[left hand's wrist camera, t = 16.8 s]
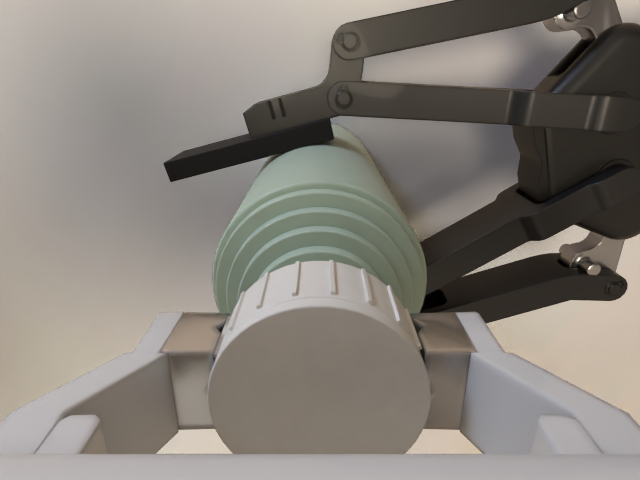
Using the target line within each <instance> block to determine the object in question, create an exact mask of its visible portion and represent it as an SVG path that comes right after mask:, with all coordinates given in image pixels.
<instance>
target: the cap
mask: <svg viewBox="0 0 640 480" xmlns="http://www.w3.org/2000/svg"><path fill="white" fill-rule="evenodd" d="M421 349H422V346H421V344H420V341H419V338H418V336H417V333H416V330H415V327H414V325H413V322H412V319H411V316H410V314H409V311H408V309H407V308H406V309H404V307H403V306H402V304H401V302H400V300H399V299H398V298H397V296H396V295H395V294H394V293H393V290H392V287H391V286H390V285H388V286H386V285H385V284H384V283H383V282H382V281H380V280H379V279H377V278H376V277H375V276H373V275H371V274H369V273H367V272H366V269H364V268H362V269H359V268H356V267H354V266H351V265H347V264H343V263H339V262H334V261H333V260H329V261H308V262H300V261H297V262H295V264H292V265H288V266H285V267H282V268H280V269H277V270H275V271H273V272H271V273H269V272H267V273H265V275H264V277H262V278H261V279H260V280H258V281H257V282H256V283H254V284H253V285H252V286H251V287H250V288H249V289H248V290H247V291H246V292H244V291H243V292H242V293H241V295H240V298H239V301H238V303H237V305H236V306H235V308H234V310H233V313H232V315H231V316H228V318H227V320H226V323H225V325H224V328H223V330H222V333H221V337H220V339H219V342H218V344H217V347H216V350H215V352H214V358H216V359H215V362H214V365H213V368H212V370H211V373H210V378H209V382H208V392H207V400H208V408H209V412H210V416H211V420H212V422H213V425H214V427H215V429H216V431H217V433H218V435H219V436H220V438H221V439H222V441H223V442H224V444H225V445H226V446H227V447H228V448H229V450H230V451H231V452H232V453H233V454H405V453H406V452H407V451H408V450H409V449H410V448H411V446H412V445H413V444H414V443H415V442H416V440H417V438H418V437H419V435H420V434H421V432H422V430H423V428H424V425H425V423H426V421H427V417H428V413H429V410H430V402H431V386H430V381H429V376H428V372H427V369H426V367H425V364H424V361H423V358H422V355H421V353H420V350H421Z"/></svg>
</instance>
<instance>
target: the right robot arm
mask: <svg viewBox="0 0 640 480" xmlns="http://www.w3.org/2000/svg"><path fill="white" fill-rule="evenodd" d="M540 21H543V23H544V25H545V27H546V28H547V29H548V30H549V31H552V32H563V31H569V30H574V31H577V32H578V33H579V34H580V36H581V38H582V39H581V40H580V41H579V42H578V43H577V44H576V45H575V47H574V48H573V49H572V50H571V51H570V52H569V53H568V54H567V55H566V56H565V57H564V58H563V59H562V60H561V61H560V62H559V64H558V65H557V66H556V67H555V68H554V69H553V70H552V71H551V72H550V73H549V74H548V75H547V76H546V77H545V78H544V79H543V81H542V82H541V83H540V84H539V85H538V86H537V87H536V88H535V89H534V90H523V89H504V88H482V87H464V86H446V85H428V84H410V83H391V82H373V81H361V79H362V71H363V63H364V58H366V57H371V56H376V55H381V54H386V53H390V52H395V51H400V50H405V49H410V48H415V47H420V46H425V45H430V44H435V43H440V42H445V41H449V40H454V39H459V38H464V37H469V36H474V35H479V34H484V33H489V32H494V31H499V30H503V29H508V28H513V27H518V26H522V25H527V24H531V23H536V22H540ZM243 115H244V118H245V121H246V125H247V128H248V131H249V134H246V135H242V136H238V137H235V138H231V139H227V140H223V141H220V142H216V143H212V144H208V145H205V146H201V147H197V148H194V149H190V150H186V151H183V152H181V153H180V154H178V155H176V156H175V157H173V158H171V159H170V160H168V161H166V162H165V163H164V166H165V169H166V171H167V174H168V176H169V179H170V182H173V181H177V180H180V179H184V178H188V177H192V176H196V175H199V174H203V173H207V172H211V171H215V170H219V169H222V168H226V167H230V166H234V165H238V164H241V163H245V162H249V161H253V160H257V159H260V158H264V157H268V156H272V155H276V154H280V153H283V152H287V151H291V150H294V149H298V148H302V147H306V146H310V145H314V144H318V143H322V142H325V141H329V140H333V139H334V134H333V130H332V125H331V121H330V118H333V117H337V116H340V115H342V116H358V117H376V118H395V119H414V120H432V121H451V122H470V123H488V124H506V125H513V135H514V139H515V142H516V144H517V147H518V149H519V152H520V161H519V167H518V183H517V184H515V185H513V186H511V187H509V188H508V189H506V190H504V191H503V192H501V193H500V194H499V195H498V196H497V198H496V200H495V201H493V202H492V203H490V204H488V205H487V206H485V207H483V208H481V209H479V210H478V211H476V212H474V213H472V214H470V215H469V216H467V217H465V218H463V219H461V220H460V221H458V222H456V223H454V224H452V225H451V226H449V227H447V228H445V229H443V230H442V231H440V232H438V233H436V234H435V235H433V236H431V237H429V238H427V239H426V240H424V241H422V242H420V245H421V247H422V250H423V253H424V257H425V263H426V270H427V284H426V293H425V297H424V301H423V305H422V307H421V310H420V312H419V313H447V312H455V313H456V312H477V313H479V314H480V316H481V317H482V319H483V320H484V322H485V323H489V322H493V321H496V320H500V319H503V318H507V317H511V316H514V315H518V314H522V313H525V312H529V311H532V310H536V309H540V308H543V307H547V306H551V305H554V304H558V303H561V302H565V301H569V300H595V301H612V300H616V299H618V298H620V297H621V296H622V295H623V294H625V292H626V290H627V282H626V280H625V279H624V278H623V277H622V276H620V275H619V274H617V273H616V268H617V265H618V261H619V258H620V254H621V251H622V247H623V244H624V241H625V239H628V238H632V237H634V236H636V235H638V234H640V25H638V24H635V23H622V20H621V17H620V14H619V11H618V8H617V4H616V1H615V0H454V1H449V2H444V3H440V4H435V5H430V6H425V7H420V8H416V9H411V10H406V11H401V12H397V13H392V14H387V15H382V16H377V17H373V18H368V19H363V20H358V21H354V22H349V23H346V24H343V25H341V26H340V27H339V28H338V29H337V30H336V32H335V34H334V36H333V39H332V44H331V54H330V64H329V71H328V75H327V77H326V78H325V80H324V81H323V82H322V83H321V84H319V85H318V86H315V87H312V88H308V89H305V90H301V91H297V92H294V93H290V94H286V95H283V96H279V97H275V98H272V99H268V100H265V101H261V102H258V103H256V104H254V105H253V106H252V107H250V108H249V109H248V110H247V111H245V112H244V113H243ZM572 225H577V226H579V227H582V228H584V229H587V230H589V231H590V233H589V235H588V236H587V237H586V238H585V239H584V240H583V241H580V242H578V243H573V244H564V245H562V246H561V247H560V249H559V253H549V254H541V255H537V256H533V257H529V258H525V259H522V260H518V261H515V262H512V263H508V264H505V265H501V266H498V267H494V268H491V269H487V270H484V271H480V272H477V273H474V274H470V275H467V276H464V275H465V274H467V273H469V272H471V271H473V270H475V269H477V268H479V267H480V266H482V265H484V264H486V263H488V262H490V261H492V260H494V259H496V258H497V257H499V256H501V255H503V254H505V253H507V252H509V251H511V250H513V249H514V248H516V247H518V246H520V245H522V244H524V243H526V242H528V241H540V240H544V239H547V238H549V237H551V236H553V235H555V234H557V233H559V232H561V231H562V230H564V229H566V228H568V227H570V226H572ZM462 276H463V277H462Z"/></svg>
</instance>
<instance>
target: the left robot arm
mask: <svg viewBox="0 0 640 480" xmlns="http://www.w3.org/2000/svg"><path fill="white" fill-rule="evenodd" d="M228 316H231V315H230V313H198V312H186V313H184V312H163V313H160V314H159V315H158V316H157V318H156V319H155V321H154V322H153V324H152V325H151V327H150V328H149V330H148V331H147V333H146V334H145V336H144V337H143V339H142V340H141V342H140V343H139V345H138V346H137V348H136V349H135V350H134V352H133V353H125V354H123V355H121V356H119V357H117V358H115V359H113V360H111V361H109V362H107V363H105V364H104V365H102V366H100V367H98V368H96V369H94V370H92V371H90V372H88V373H86V374H84V375H82V376H80V377H78V378H77V379H75V380H73V381H71V382H69V383H67V384H65V385H63V386H61V387H59V388H57V389H55V390H53V391H51V392H50V393H48V394H46V395H44V396H42V397H40V398H38V399H36V400H34V401H32V402H30V403H28V404H26V405H25V406H23V407H21V408H19V409H17V410H15V411H13V412H11V413H10V414H9V415H8V416H7V417H6V418H5V419H4V420H3V421H2V422H1V424H0V480H640V426H639V425H638V424H637V422H636V421H635V420H634V419H633V418H632V417H631V416H630V415H629V414H628V413H626V412H625V411H623V410H621V409H619V408H617V407H615V406H613V405H611V404H609V403H607V402H605V401H603V400H602V399H600V398H598V397H596V396H594V395H592V394H590V393H588V392H586V391H584V390H582V389H581V388H579V387H577V386H575V385H573V384H571V383H569V382H567V381H565V380H563V379H561V378H559V377H558V376H556V375H554V374H552V373H550V372H548V371H546V370H544V369H542V368H540V367H538V366H537V365H535V364H533V363H531V362H529V361H527V360H525V359H523V358H521V357H519V356H517V355H515V354H514V353H505V352H504V350H503V349H502V347H501V346H500V344H499V343H498V341H497V340H496V338H495V337H494V335H493V334H492V332H491V331H490V329H489V328H488V326H487V325H486V323H485V322H484V320H483V319H482V317H481V316H480V314H479V313H477V312H456V313H455V312H447V313H410V316H411V319H412V322H413V325H414V327H415V330H416V333H417V336H418V338H419V341H420V344H421V346H422V349H421V350H420V353H421V355H422V358H423V361H424V364H425V367H426V369H427V372H428V376H429V381H430V386H431V402H430V410H429V413H428V417H427V421H426V423H425V425H424V428H423V429H453V430H460V432H461V433H462V434H463V435H464V436H465V437H466V438H467V439H468V440H469V441H470V442H471V443H472V444H473V445H475V446H476V447H477V448H478V449H479V450H480V451H481V452H482V453H483V454H156V453H157V452H158V451H159V450H160V449H161V448H162V447H163V446H164V445H165V444H166V443H167V442H168V441H169V440H170V439H171V438H172V437H174V436H175V435H176V434H177V433H178V430H185V429H215V427H214V425H213V422H212V420H211V416H210V412H209V408H208V400H207V392H208V382H209V378H210V373H211V370H212V368H213V365H214V362H215V359H216V358H214V352H215V350H216V347H217V344H218V342H219V339H220V337H221V333H222V330H223V328H224V325H225V323H226V320H227V318H228Z"/></svg>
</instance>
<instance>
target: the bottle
mask: <svg viewBox="0 0 640 480" xmlns="http://www.w3.org/2000/svg"><path fill="white" fill-rule="evenodd" d="M331 125H332V130H333V134H334V139H333V140H329V141H325V142H322V143H318V144H314V145H310V146H306V147H302V148H298V149H294V150H291V151H287V152H283V153H280V154H276V155H272V156H269V158H268V159H267V161H266V163H265V164H264V166H263V168H262V169H261V171H260V173H259V174H258V176H257V178H256V180H255V181H254V183H253V185H252V186H251V188H250V190H249V191H248V193H247V195H246V197H245V198H244V200H243V202H242V203H241V205H240V207H239V208H238V210H237V212H236V214H235V215H234V217H233V219H232V220H231V222H230V224H229V225H228V227H227V229H226V231H225V233H224V234H223V236H222V238H221V240H220V242H219V245H218V248H217V250H216V253H215V258H214V263H213V272H212V283H213V292H214V296H215V301H216V304H217V307H218V310H219V312H220V313H230V315H232V313H233V310H234V308H235V306H236V305H237V303H238V301H239V298H240V295H241V293H242V292H243V291H244V292H246V291H247V290H248V289H249V288H250V287H251V286H252V285H253V284H254V283H256V282H257V281H258V280H260V279H261V278H262V277H264V275H265V273H267V272H269V273H271V272H273V271H275V270H277V269H280V268H282V267H285V266H288V265H292V264H295V262H297V261H300V262H308V261H329V260H333V261H334V262H339V263H343V264H347V265H351V266H354V267H356V268H359V269H362V268H364V269H366V272H367V273H369V274H371V275H373V276H375V277H376V278H377V279H379V280H380V281H382V282H383V283H384V284H385V285H386V286H388V285H390V286H391V287H392V290H393V293H394V294H395V295H396V296H397V298H398V299H399V300H400V302H401V304H402V306H403V307H404V309H406V308H407V309H408V311H409V314H410V313H419V312H420V310H421V307H422V305H423V301H424V297H425V293H426V284H427V270H426V263H425V257H424V253H423V250H422V247H421V245H420V242H419V240H418V238H417V236H416V234H415V232H414V230H413V229H412V227H411V225H410V223H409V222H408V220H407V218H406V217H405V215H404V213H403V211H402V210H401V208H400V206H399V204H398V203H397V201H396V199H395V198H394V196H393V194H392V192H391V191H390V189H389V187H388V186H387V184H386V182H385V180H384V179H383V177H382V175H381V173H380V172H379V170H378V168H377V167H376V165H375V163H374V161H373V160H372V158H371V156H370V154H369V153H368V151H367V149H366V148H365V146H364V145H363V143H362V142H361V141H360V140H359V139H358V138H357V137H356V136H355V135H354V134H353V133H352V132H350V131H348V130H347V129H345V128H343V127H341V126H338V125H335V124H332V123H331Z"/></svg>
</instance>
